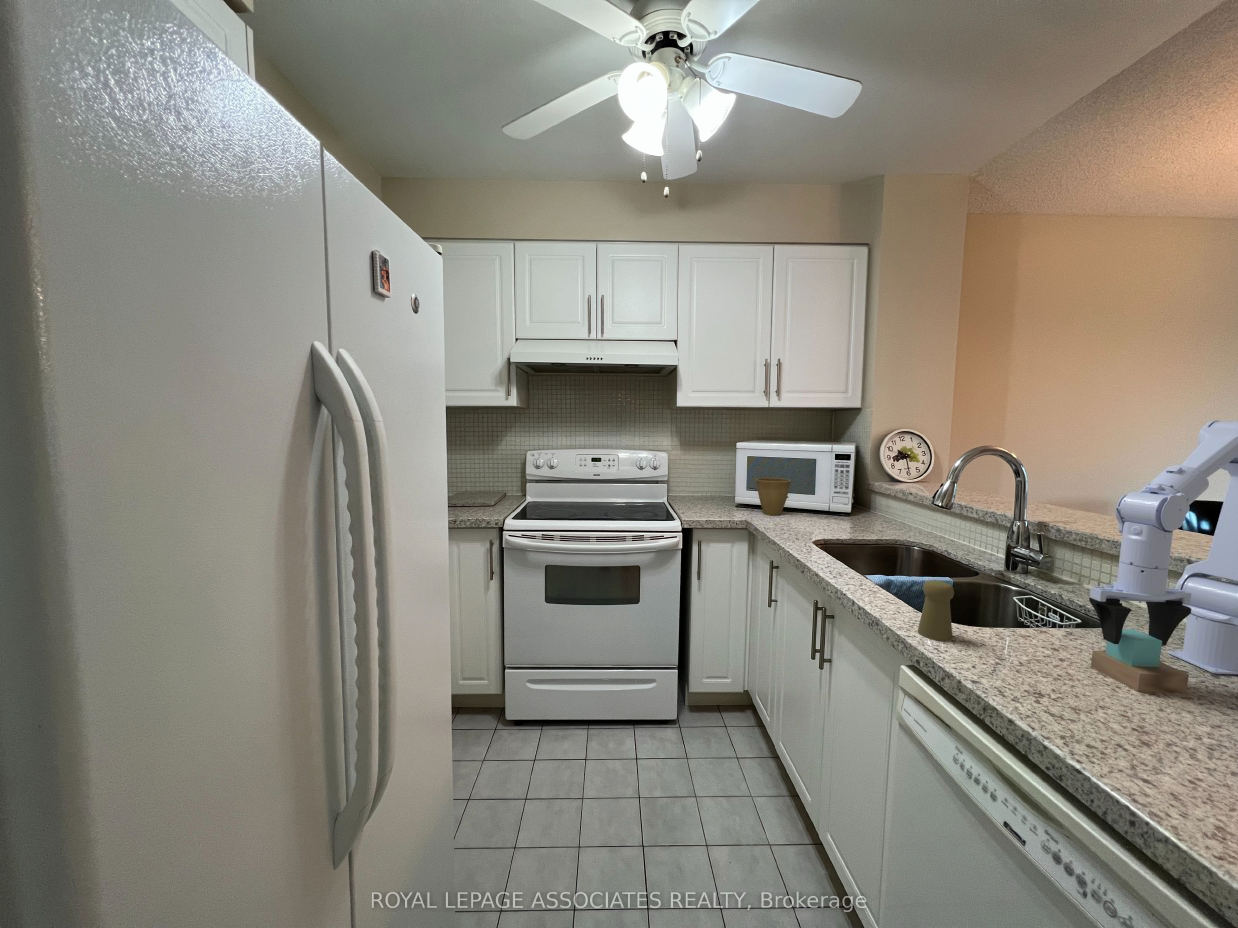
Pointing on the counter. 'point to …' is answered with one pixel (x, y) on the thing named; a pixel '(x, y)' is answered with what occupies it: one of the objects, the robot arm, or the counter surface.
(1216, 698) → the counter surface
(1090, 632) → the counter surface
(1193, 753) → the counter surface
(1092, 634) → the counter surface
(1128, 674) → the walnut block
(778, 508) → the plant pot
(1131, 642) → the teal cube
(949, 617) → the cork
